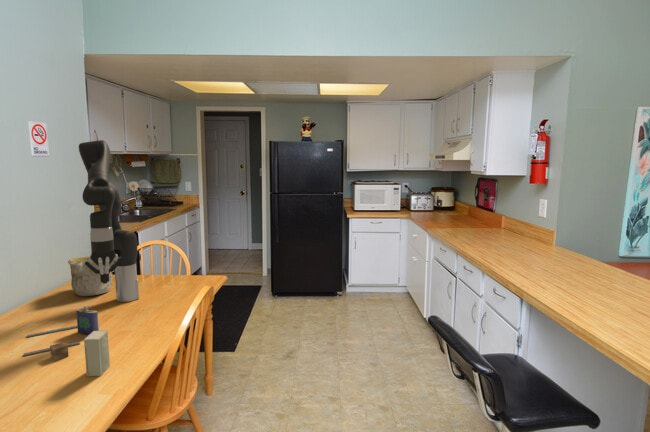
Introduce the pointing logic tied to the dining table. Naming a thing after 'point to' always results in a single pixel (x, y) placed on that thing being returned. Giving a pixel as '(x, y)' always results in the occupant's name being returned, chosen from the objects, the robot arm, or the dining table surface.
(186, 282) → the dining table surface
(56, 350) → the walnut cube
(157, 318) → the dining table surface
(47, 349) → the guide strip
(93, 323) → the flask
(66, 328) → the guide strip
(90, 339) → the skincare box
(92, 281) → the ceramic vessel
